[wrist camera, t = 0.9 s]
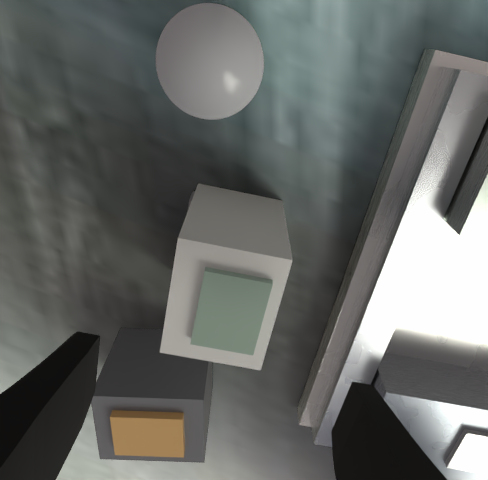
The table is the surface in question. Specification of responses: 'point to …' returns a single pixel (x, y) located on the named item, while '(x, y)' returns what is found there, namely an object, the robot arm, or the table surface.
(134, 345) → the relay block
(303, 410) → the board
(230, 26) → the cap
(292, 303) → the table surface
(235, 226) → the block
